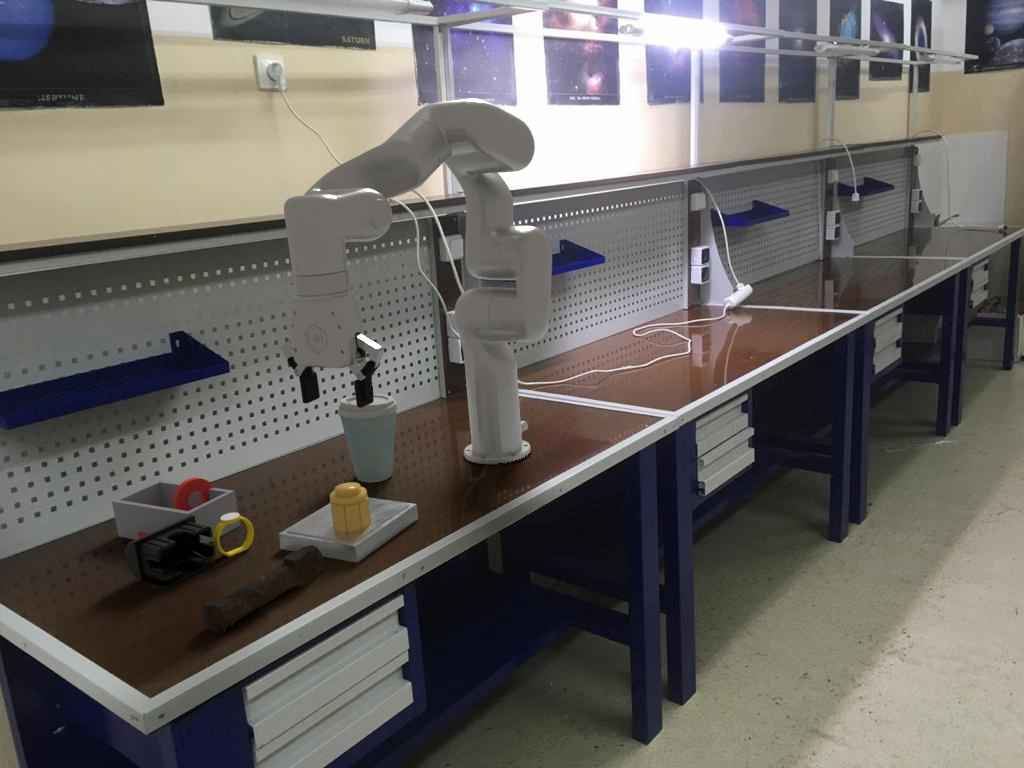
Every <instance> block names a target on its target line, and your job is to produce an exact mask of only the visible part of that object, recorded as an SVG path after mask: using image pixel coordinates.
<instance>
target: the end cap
mask: <svg viewBox="0 0 1024 768" xmlns="http://www.w3.org/2000/svg"><path fill="white" fill-rule="evenodd" d="M200 535H203V536H206V537H212V530H211V527H209V526H205V525H201V524H197V523H196V521H195V516H187V517H185V518H183V519H181V520H178V521H176V522H174V523H172V524H169V525H167V526H165V527H163V528H160V529H158V530H156V531H154V532H151V533H149V534H147V535H145V536H142V537H140V538H138V539H136V540H135V539H132V541H129V542H128V543H127V545H126V547H125V549H124V558H125V562H126V566H127V568H128V570H129V571H130V573H131V575H133V577H134V578H136V580H138V581H139V582H141V583H142V584H144V585H146V586H148V587H151V588H154V589H157V590H160V591H166V590H169V589H170V588H172V587H174V586H176V585H179V584H180V583H182V582H184V581H186V580H188V579H190V578H192V577H194V576H195V575H198V574H199V573H203V572H204V571H205V570H207V569H209V568H212V567H213V566H215V565H216V559H214V557H215V555H216V548H215V546H214V544H213V543H211V542H210V543H206V542H203V541H202V540H201V538H200Z"/></svg>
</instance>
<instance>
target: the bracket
mask: <svg viewBox="0 0 1024 768" xmlns="http://www.w3.org/2000/svg"><path fill="white" fill-rule="evenodd" d="M180 483H181V484H180V485H179V486H178V488H177V489H176V491H175V493H174V497H173V507H174V509H177V510H183V511H190V510H192V509H194V508H196V507H198V506H200V505H202V504H204V503H206V502H208V501H210V497H209V491H208V489H210V488H215V485H214V484H213V483H212V482H210V481H209V480H207V479H205V478H202V477H197V476H195V477H190V478H187V479H185V480H184V481H182V482H180ZM195 491H200V493H201V495H202V499H201V502H200V503H199V504H198V505H197V506H195V507H190V506H189V503H188V499H189V497H190V495H191V494H192V493H193V492H195ZM147 534H148V533H142V532H138V537H139V538H140V537H142V536H145V535H147Z"/></svg>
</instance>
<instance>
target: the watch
mask: <svg viewBox="0 0 1024 768" xmlns="http://www.w3.org/2000/svg"><path fill="white" fill-rule="evenodd" d="M220 519H221V522H220V523H219V524H218V525H217V527H216V528H215V531H214V534H213V541H212V542H213V543H212V544H213V545H214V546H215V550H217V552H218V553H219V554H221V555H224V556H226V557H228V558H231V557H233V556H235V555H237V554H240V553H242V552H245V551H248V550H249V548H250V547H251V545H252V543H253V541H254V536H255V531H254V525H253V523H252V522H251V521H250V520H249V519H248V518H247V517H245V516H244V517H243V516H241V514H240V513H239V512H238V513H228V514H225V515H223V516H222V517H221V518H220ZM240 520H241V521H242V522H243V523H244V524H245V526H246V529H247V530H246V531H247V533H246V539H245V540H244V542H243V543H242V545H241V546H240V547H236V548H234V549H232V550H229V551H227V552H226V551H224V549H223V547H221V543H220V542H221V541H220V538H221V537H220V535H221V532H222V529H223V528H224V527H225V526H226V525H227V524H233V523H236V522H238V521H239V522H240Z"/></svg>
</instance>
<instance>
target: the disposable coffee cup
mask: <svg viewBox="0 0 1024 768" xmlns="http://www.w3.org/2000/svg"><path fill="white" fill-rule="evenodd" d="M373 394H374V396H373V399H374V401H373V403H371V404H369V405H367V406H365V407H363V408H359V407H358V406H357V403H356V395H355V394H354V395H350V396H349V395H348V396H345V397H343V398H341V399H340V403H339V404H338V411H337V414H338V416H339V417H340V420H341V423H342V427H343V432H344V436H345V440H346V444H347V447H348V452H349V455H350V459H351V462H352V463H351V464H352V467H353V470H354V471H353V472H354V474H355V477H356V478H357V480H358V481H360V482H363V483H378V482H382V481H386V480H388V479H389V478H390V477H392V473H393V472H394V457H395V456H394V455H395V454H394V453H395V440H396V439H395V438H396V437H395V436H396V424H397V422H396V421H397V410H398V409H399V407H398V404H397V399H395V398H394V397H393V396H390V395H387V394H383V393H382V394H381V393H373Z"/></svg>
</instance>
